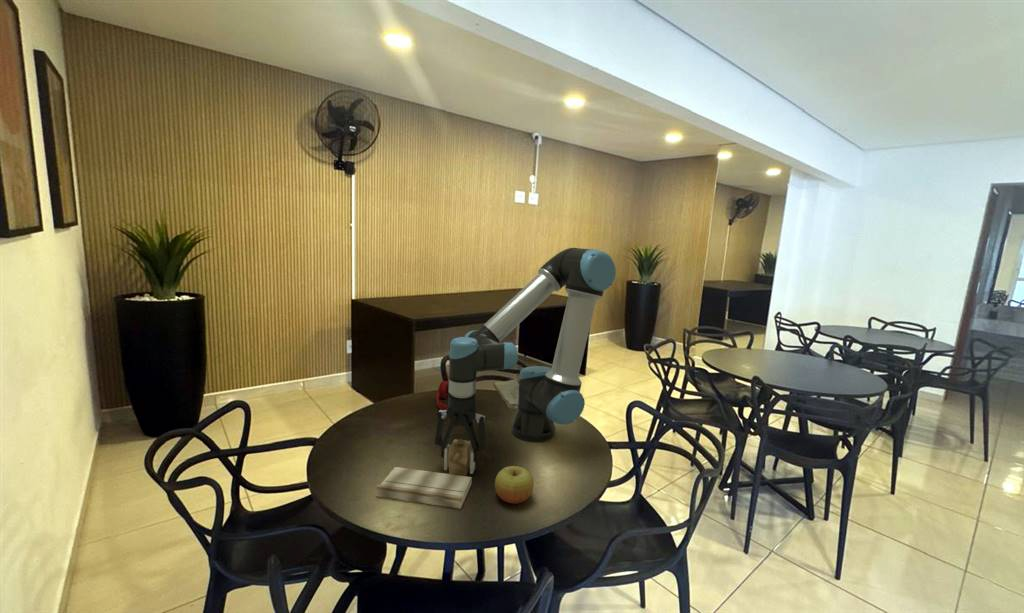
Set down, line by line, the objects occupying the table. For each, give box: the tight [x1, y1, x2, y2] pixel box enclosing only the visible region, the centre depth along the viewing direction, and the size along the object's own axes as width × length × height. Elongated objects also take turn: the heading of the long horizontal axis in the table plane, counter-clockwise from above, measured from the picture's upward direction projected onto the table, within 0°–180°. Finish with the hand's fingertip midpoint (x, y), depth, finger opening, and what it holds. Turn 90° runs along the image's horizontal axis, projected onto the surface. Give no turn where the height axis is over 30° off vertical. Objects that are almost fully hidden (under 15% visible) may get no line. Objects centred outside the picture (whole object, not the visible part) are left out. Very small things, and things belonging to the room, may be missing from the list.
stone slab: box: [493, 379, 519, 411], centre depth 181 cm, size 12×4×30 cm
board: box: [376, 466, 473, 510], centre depth 114 cm, size 22×11×3 cm, turn 81°
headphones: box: [435, 380, 449, 410], centre depth 172 cm, size 15×7×20 cm
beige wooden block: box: [448, 439, 472, 476], centre depth 122 cm, size 5×8×9 cm, turn 171°
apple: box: [494, 465, 534, 505], centre depth 112 cm, size 10×10×8 cm
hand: (459, 469), depth 124 cm, fingers open, 7 cm apart
